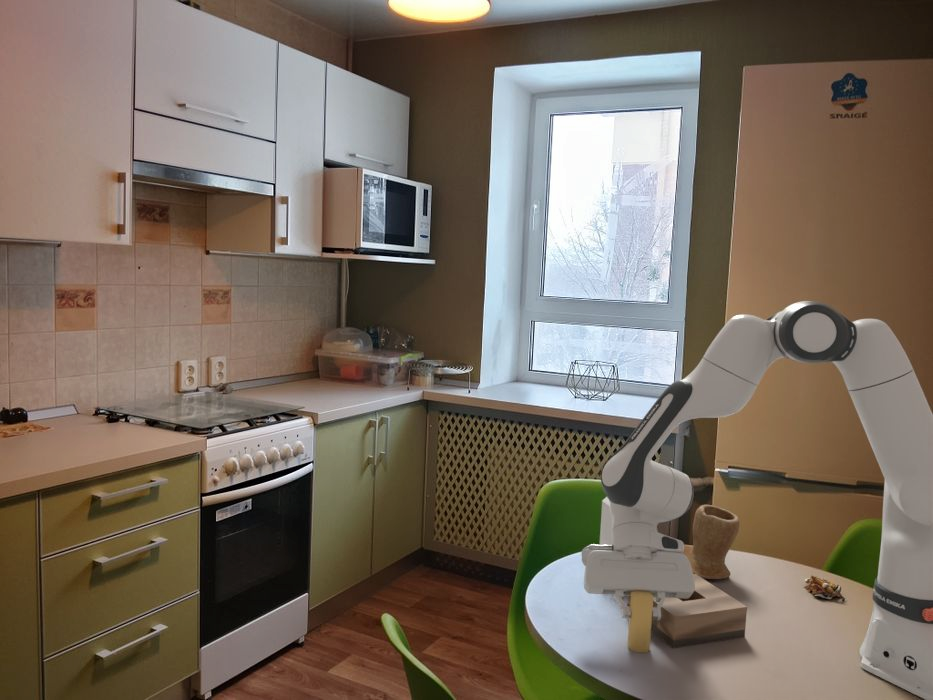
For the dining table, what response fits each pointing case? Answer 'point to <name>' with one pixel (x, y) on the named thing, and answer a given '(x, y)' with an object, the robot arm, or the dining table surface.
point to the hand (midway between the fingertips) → (641, 618)
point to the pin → (640, 621)
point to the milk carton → (606, 523)
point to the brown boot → (711, 541)
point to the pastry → (823, 588)
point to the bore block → (700, 617)
